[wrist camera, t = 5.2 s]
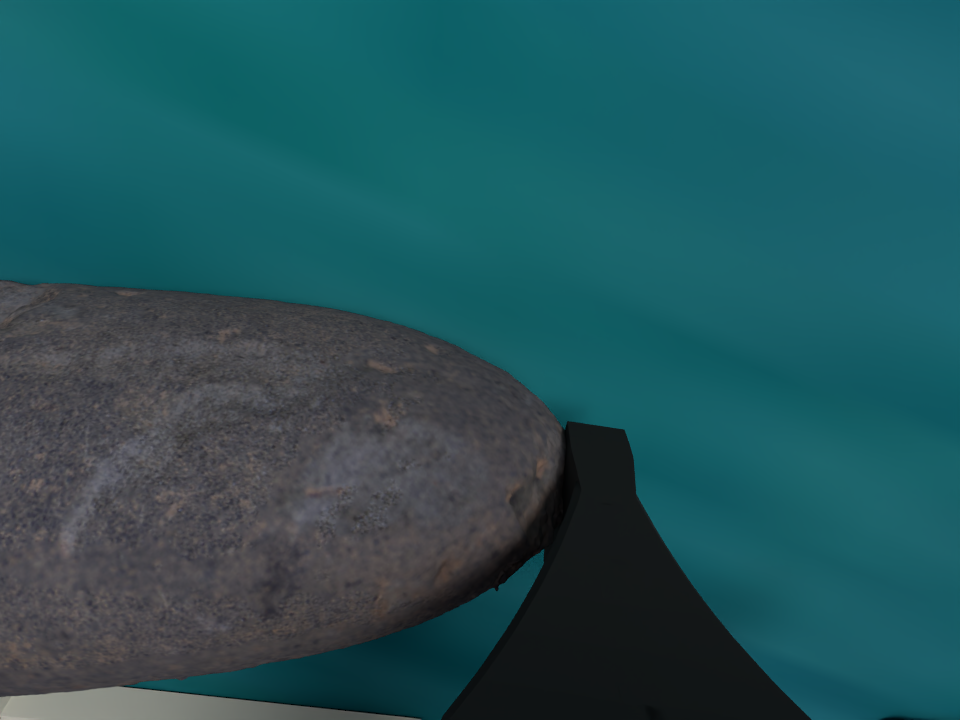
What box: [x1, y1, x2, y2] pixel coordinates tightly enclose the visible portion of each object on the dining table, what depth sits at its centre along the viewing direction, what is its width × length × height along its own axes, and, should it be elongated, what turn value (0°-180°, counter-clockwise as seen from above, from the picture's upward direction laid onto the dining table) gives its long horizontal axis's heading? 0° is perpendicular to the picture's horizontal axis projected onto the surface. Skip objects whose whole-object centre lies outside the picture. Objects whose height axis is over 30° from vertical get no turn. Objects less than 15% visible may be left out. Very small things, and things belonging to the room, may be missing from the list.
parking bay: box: [0, 686, 421, 720], centre depth 13 cm, size 13×28×2 cm, turn 174°
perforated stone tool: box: [0, 280, 566, 697], centre depth 12 cm, size 15×5×7 cm, turn 88°
